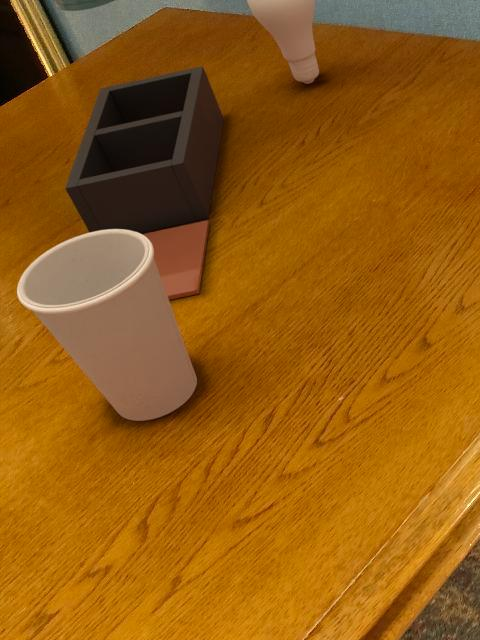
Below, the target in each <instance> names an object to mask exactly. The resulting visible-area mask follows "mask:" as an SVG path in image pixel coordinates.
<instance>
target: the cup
mask: <svg viewBox="0 0 480 640" xmlns="http://www.w3.org/2000/svg"><path fill="white" fill-rule="evenodd" d="M114 1H115V0H53V2H54V4H55V6H56V8H57V9H58V10H61V11H66V12H78V11H86V10H90V9H94V8H98V7H101V6H104V5H106V4H110V3H112V2H114Z"/></svg>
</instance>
